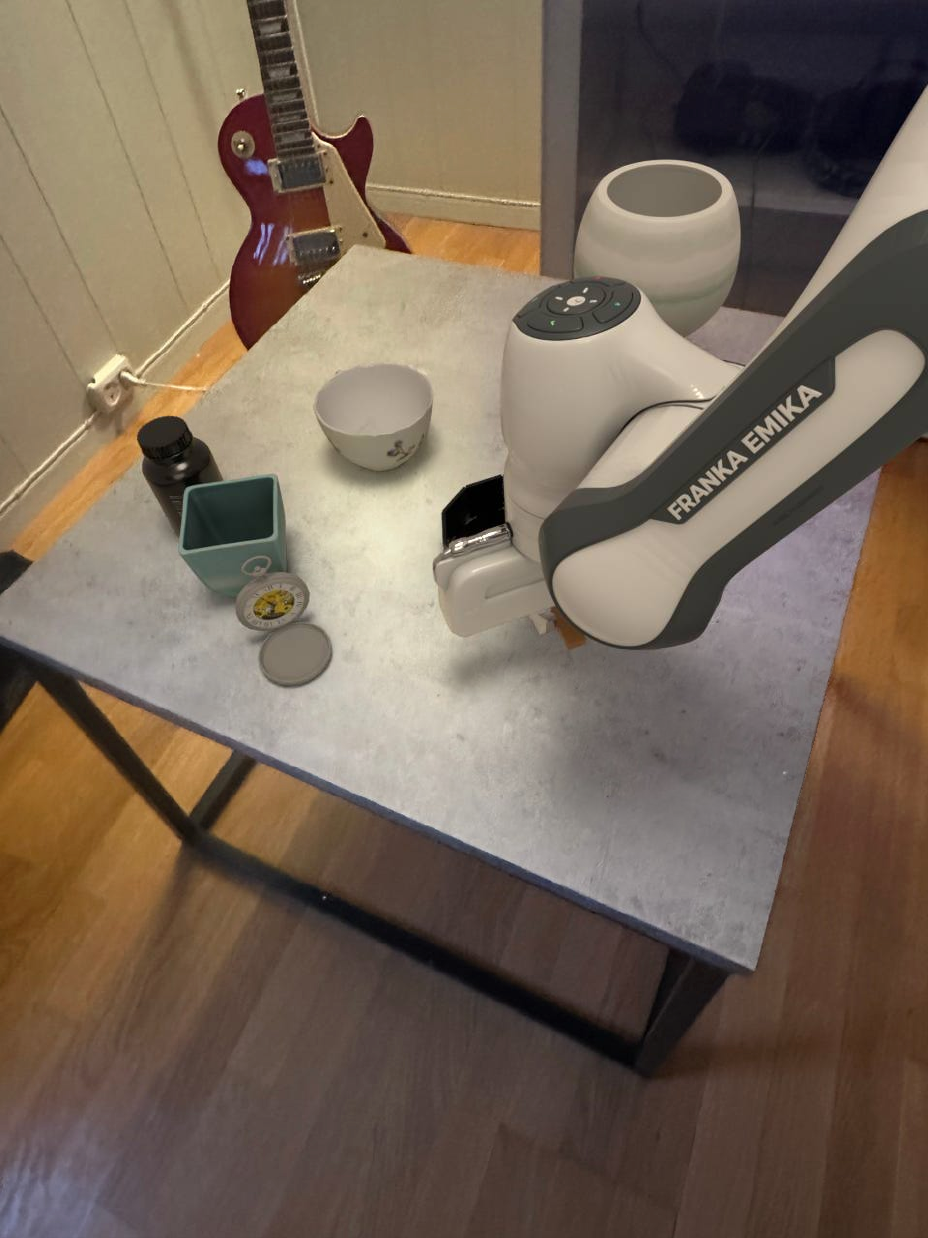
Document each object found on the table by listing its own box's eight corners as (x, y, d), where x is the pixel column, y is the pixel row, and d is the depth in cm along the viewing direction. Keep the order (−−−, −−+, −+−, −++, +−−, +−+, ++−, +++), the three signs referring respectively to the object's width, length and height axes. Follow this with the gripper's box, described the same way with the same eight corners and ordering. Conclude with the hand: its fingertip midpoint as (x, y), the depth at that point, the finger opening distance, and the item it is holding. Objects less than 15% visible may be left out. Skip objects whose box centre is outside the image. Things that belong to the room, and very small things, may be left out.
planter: (539, 390, 90) (541, 193, 72) (631, 332, 95) (654, 136, 77) (644, 454, 82) (675, 251, 64) (737, 386, 87) (790, 182, 69)
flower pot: (300, 535, 78) (277, 470, 71) (302, 601, 73) (277, 538, 66) (216, 549, 78) (183, 485, 71) (212, 616, 73) (176, 554, 66)
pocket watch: (304, 699, 66) (272, 633, 58) (231, 662, 69) (192, 595, 61) (356, 631, 70) (334, 561, 62) (286, 599, 73) (256, 528, 65)
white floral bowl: (461, 460, 83) (455, 400, 77) (363, 510, 80) (349, 452, 73) (393, 394, 91) (382, 335, 85) (301, 437, 88) (282, 378, 81)
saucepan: (641, 647, 67) (648, 616, 63) (506, 697, 65) (505, 668, 61) (542, 493, 79) (543, 460, 76) (427, 531, 77) (421, 498, 74)
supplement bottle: (248, 502, 82) (210, 412, 72) (220, 548, 78) (176, 460, 68) (192, 493, 83) (148, 404, 74) (162, 538, 80) (111, 450, 70)
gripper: (444, 583, 51) (460, 690, 62) (713, 492, 54) (683, 609, 65) (415, 521, 54) (435, 632, 65) (669, 439, 57) (647, 559, 69)
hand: (560, 620), depth 65 cm, fingers closed on saucepan
